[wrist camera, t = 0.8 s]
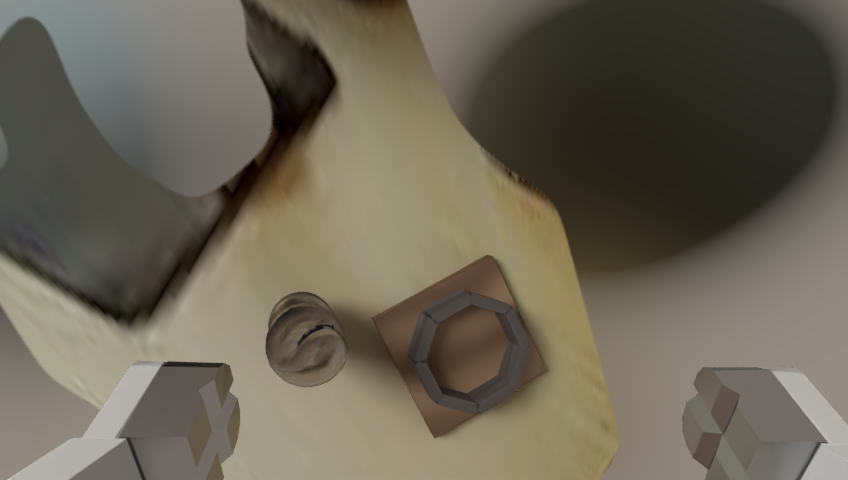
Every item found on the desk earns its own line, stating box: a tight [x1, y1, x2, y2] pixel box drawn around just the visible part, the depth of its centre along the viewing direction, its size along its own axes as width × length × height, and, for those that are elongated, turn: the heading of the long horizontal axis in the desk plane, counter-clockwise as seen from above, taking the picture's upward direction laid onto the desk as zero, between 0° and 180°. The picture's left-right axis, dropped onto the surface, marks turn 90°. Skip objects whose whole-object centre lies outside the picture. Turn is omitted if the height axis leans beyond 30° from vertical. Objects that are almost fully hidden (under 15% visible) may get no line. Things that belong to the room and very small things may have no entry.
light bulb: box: [266, 292, 348, 387], centre depth 42 cm, size 6×6×15 cm
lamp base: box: [372, 255, 546, 438], centre depth 51 cm, size 13×13×4 cm
